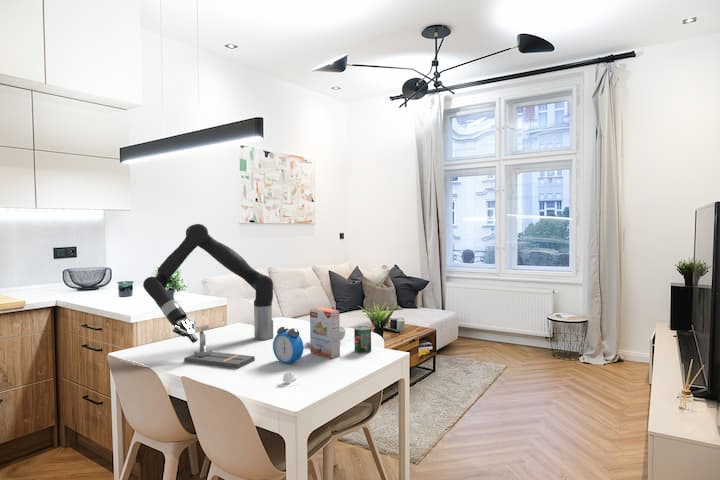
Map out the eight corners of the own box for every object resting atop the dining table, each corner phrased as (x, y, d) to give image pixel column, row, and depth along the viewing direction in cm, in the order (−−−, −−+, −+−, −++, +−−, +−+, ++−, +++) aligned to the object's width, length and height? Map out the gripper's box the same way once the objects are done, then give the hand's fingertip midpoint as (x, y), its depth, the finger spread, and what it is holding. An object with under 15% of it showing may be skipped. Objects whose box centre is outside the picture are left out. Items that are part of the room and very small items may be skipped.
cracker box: (309, 353, 210) (309, 308, 210) (319, 350, 215) (318, 306, 214) (330, 359, 201) (330, 311, 200) (340, 356, 205) (339, 309, 204)
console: (184, 362, 199) (184, 357, 198) (203, 354, 210) (203, 350, 210) (237, 368, 188) (237, 363, 188) (254, 360, 199) (254, 356, 199)
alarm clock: (272, 361, 198) (271, 327, 198) (282, 358, 203) (282, 324, 203) (294, 366, 191) (293, 330, 190) (304, 362, 196) (304, 328, 195)
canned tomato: (374, 351, 213) (374, 327, 213) (362, 354, 207) (362, 330, 207) (362, 348, 219) (362, 325, 218) (350, 351, 213) (350, 327, 213)
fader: (194, 355, 201) (193, 326, 200) (202, 352, 206) (202, 324, 205) (203, 356, 199) (202, 327, 198) (211, 353, 204) (211, 325, 204)
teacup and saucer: (292, 378, 177) (292, 368, 177) (304, 383, 171) (304, 372, 171) (272, 383, 171) (272, 373, 171) (284, 389, 165) (284, 378, 165)
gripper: (166, 309, 200) (189, 339, 196) (188, 304, 213) (210, 332, 209) (158, 320, 203) (180, 350, 198) (179, 315, 215) (201, 343, 211)
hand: (195, 341), depth 204 cm, fingers closed
